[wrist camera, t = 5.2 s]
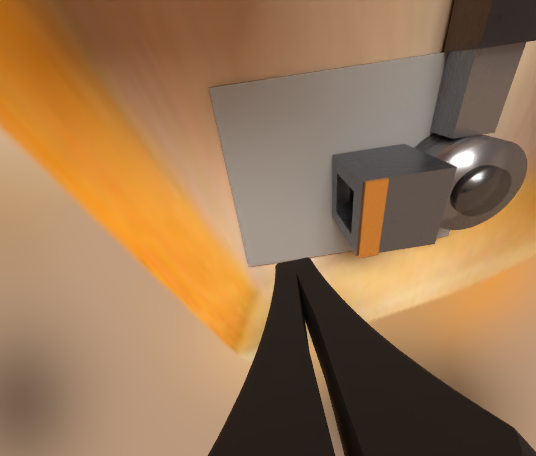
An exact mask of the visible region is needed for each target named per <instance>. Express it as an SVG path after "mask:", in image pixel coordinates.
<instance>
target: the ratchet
mask: <svg viewBox="0 0 536 456" xmlns="http://www.w3.org/2000/svg"><path fill="white" fill-rule="evenodd" d="M535 40H536V0H455V1H454V5H453V10H452V15H451V20H450V24H449V29H448V34H447V39H446V44H445V48H444V52H447V54H446V59H445V63H444V68H443V73H442V77H441V82H440V87H439V91H438V96H437V101H436V105H435V110H434V115H433V119H432V124H431V128H430V132H433V133H434V134H432V135H430V136H428V137H427V138H425V139H424V140H422V141H421V142H420V143H419V144H418V145H417V146H415V147H414V148H415V149H418V150H420V151H422V152H424V153H427V154H429V155H431V156H433V157H436V158H438V159H440V160H443V161H445V162H447V163H449V164H452V165H454V166H456V167H457V170H456V173H455V176H454V180H453V183H452V187H451V190H450V193H449V197H448V200H447V204H446V207H445V210H444V214H443V217H442V221H441V224H440V227H441V228H444V229H449V230H460V229H466V228H470V227H473V226H476V225H478V224H480V223H482V222H484V221H486V220H488V219H490V218H491V217H493V216H494V215H496V214H497V213H498V212H499V211H501V210H502V209H503V208H504V207H505V206H506V205H507V204H508V203H509V202H510V201H511V200H512V199H513V197H514V196H515V195H516V193H517V192H518V190H519V189H520V187H521V185H522V183H523V181H524V178H525V175H526V171H527V159H526V155H525V153H524V151H523V150H522V149H521V147H519V146H518V145H517V144H515V143H513V142H509V141H506V140H502V139H498V138H494V137H490V136H486V135H482V134H488V133H494V132H495V130H496V127H497V124H498V121H499V118H500V115H501V113H502V110H503V107H504V104H505V101H506V98H507V95H508V93H509V90H510V87H511V84H512V81H513V78H514V75H515V73H516V70H517V67H518V64H519V61H520V58H521V55H522V53H523V50H524V47H525V44H526V42H528V41H535Z"/></svg>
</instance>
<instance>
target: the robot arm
mask: <svg viewBox="0 0 536 456" xmlns="http://www.w3.org/2000/svg"><path fill="white" fill-rule="evenodd" d="M275 268H276V274H275V284H274V291H273V296H272V301H271V306H270V310H269V314H268V317H267V321H266V325H265V328H264V332H263V335H262V338H261V341H260V344H259V347H258V349H257V352H256V355H255V358H254V360H253V363H252V365H251V368H250V370H249V373H248V375H247V378H246V380H245V382H244V385H243V387H242V389H241V391H240V394H239V396H238V398H237V400H236V402H235V404H234V406H233V408H232V411H231V412H230V414H229V416H228V418H227V421H226V423H225V425H224V427H223V428H222V430H221V432H220V434H219V436H218V438H217V440H216V442H215V443H214V445H213V447H212V449H211V451H210V453H209V454H208V456H335V453H334V449H333V445H332V441H331V437H330V433H329V429H328V425H327V422H326V417H325V413H324V409H323V405H322V401H321V397H320V393H319V389H318V385H317V381H316V377H315V373H314V369H313V365H312V360H311V356H310V353H309V346H308V339H307V332H306V325H305V321H306V324H307V327H308V330H309V333H310V336H311V339H312V342H313V345H314V348H315V351H316V353H317V357H318V360H319V362H320V365H321V368H322V371H323V374H324V378H325V381H326V384H327V388H328V392H329V396H330V400H331V403H332V407H333V411H334V415H335V419H336V423H337V427H338V431H339V435H340V439H341V443H342V447H343V451H344V455H345V456H536V452H535V451H534V449H533V448H532V447H531V446H530V445H529V444H528V443H527V442H526V441H525V439H524V438H523V437H522V436H521V435H520V434H519V433H518V432H517V431H516V430H515V428H513V427H512V426H510V425H509V424H507V423H506V422H504V421H502V420H501V419H499V418H498V417H496V416H494V415H493V414H491V413H490V412H488V411H486V410H485V409H483V408H482V407H480V406H478V405H477V404H475V403H474V402H472V401H471V400H469V399H468V398H466V397H465V396H463V395H462V394H460V393H459V392H457V391H456V390H454V389H453V388H451V387H450V386H448V385H447V384H445V383H444V382H442V381H441V380H440V379H438V378H437V377H435V376H434V375H432V374H431V373H430V372H428V371H427V370H425V369H424V368H423V367H421V366H420V365H419V364H417V363H416V362H415V361H413V360H412V359H411V358H409V357H408V356H407V355H405V354H404V353H403V352H401V351H400V350H399V349H397V348H396V347H395V346H394V345H392V344H391V343H390V342H389V341H388V340H386V339H385V338H384V337H383V336H381V335H380V334H379V333H378V332H377V331H376V330H375V329H373V328H372V327H371V326H370V325H369V324H368V323H367V322H365V321H364V320H363V319H362V318H361V317H360V316H359V315H358V314H357V313H356V312H355V311H354V310H353V309H352V308H351V307H350V306H349V305H348V304H347V303H346V302H345V301H344V300H343V299H342V298H341V297H340V296H339V295H338V294H337V292H336V291H335V290H334V289H333V288H332V287H331V286H330V285H329V283H328V282H327V281H326V280H325V279H324V277H323V276H322V275H321V273H320V272H319V271H318V269H317V268H316V267H315V265H314V264H313V262H312V261H311V259H310V258H308V257H306V258H301V259H297V260H292V261H287V262H282V263H278V264H277V265H276V266H275Z"/></svg>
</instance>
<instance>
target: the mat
mask: <svg viewBox="0 0 536 456" xmlns="http://www.w3.org/2000/svg"><path fill="white" fill-rule="evenodd" d="M446 54H447V52H442V53H436V54H429V55H422V56H416V57H409V58H403V59H396V60H389V61H383V62H376V63H370V64H363V65H356V66H350V67H343V68H337V69H330V70H323V71H317V72H310V73H304V74H297V75H290V76H284V77H277V78H271V79H264V80H257V81H251V82H244V83H238V84H231V85H224V86H218V87H211V88H209V92H210V97H211V101H212V106H213V110H214V115H215V119H216V123H217V128H218V132H219V137H220V141H221V146H222V150H223V155H224V159H225V164H226V168H227V173H228V177H229V181H230V186H231V190H232V195H233V199H234V204H235V208H236V213H237V217H238V222H239V226H240V230H241V235H242V239H243V244H244V248H245V253H246V257H247V262H248V266H249V267H252V266H258V265H265V264H271V263H278V262H284V261H291V260H297V259H301V258H306V257H308V258H310V257H316V256H323V255H329V254H336V253H342V252H349V251H353V250H352V248H351V247H350V245H349V244H348V242H347V240H346V239H345V237H344V236H343V234H342V232H341V231H340V229H339V227H338V226H337V224H336V223H335V221H334V219H333V218H332V180H333V155H334V154H340V153H347V152H353V151H360V150H366V149H373V148H379V147H386V146H392V145H399V144H406V145H408V146H411V147H413V148H414V147H415V146H417V145H418V144H419V143H420V142H421V141H422V140H424V139H425V138H427V137H428V136H430V135H432V134H434V133H433V132H430V128H431V124H432V119H433V115H434V110H435V105H436V101H437V96H438V91H439V87H440V82H441V77H442V73H443V68H444V63H445V59H446ZM449 231H450V230H449V229H444V228H441V227H439V231H438V234H437V238H439V237H445V236H448V234H449Z"/></svg>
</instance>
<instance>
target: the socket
mask: <svg viewBox="0 0 536 456" xmlns="http://www.w3.org/2000/svg"><path fill="white" fill-rule="evenodd" d="M456 170H457V167H456V166H454V165H452V164H449V163H447V162H445V161H443V160H440V159H438V158H436V157H433V156H431V155H429V154H427V153H424V152H422V151H420V150H418V149H415V148H413V147H411V146H408V145H406V144H399V145H392V146H386V147H379V148H373V149H366V150H360V151H353V152H347V153H340V154H334V155H333V180H332V218H333V219H334V221H335V223H336V224H337V226H338V227H339V229H340V231H341V232H342V234H343V236H344V237H345V239H346V240H347V242H348V244H349V245H350V247H351V248H352V250H353V252H354V253H355V255H356V256H358V257H359V258H361V257H368V256H374V255H378V253H379V252H386V251H392V250H398V249H405V248H411V247H418V246H424V245H431V244H435V241H436V238H437V234H438V231H439V227H440V224H441V221H442V217H443V214H444V210H445V207H446V204H447V200H448V197H449V193H450V190H451V187H452V183H453V180H454V176H455V173H456Z"/></svg>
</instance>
